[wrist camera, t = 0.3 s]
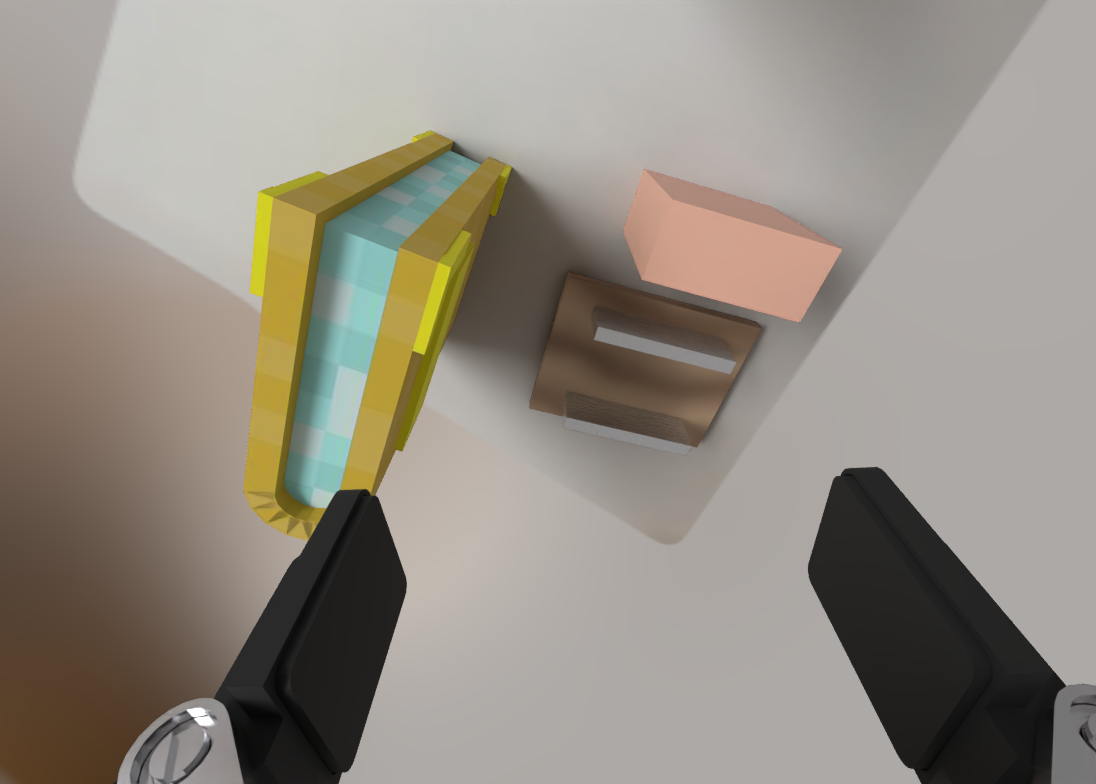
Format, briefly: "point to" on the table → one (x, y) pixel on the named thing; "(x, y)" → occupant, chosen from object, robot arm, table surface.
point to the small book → (725, 247)
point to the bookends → (636, 421)
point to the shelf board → (635, 356)
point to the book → (355, 317)
